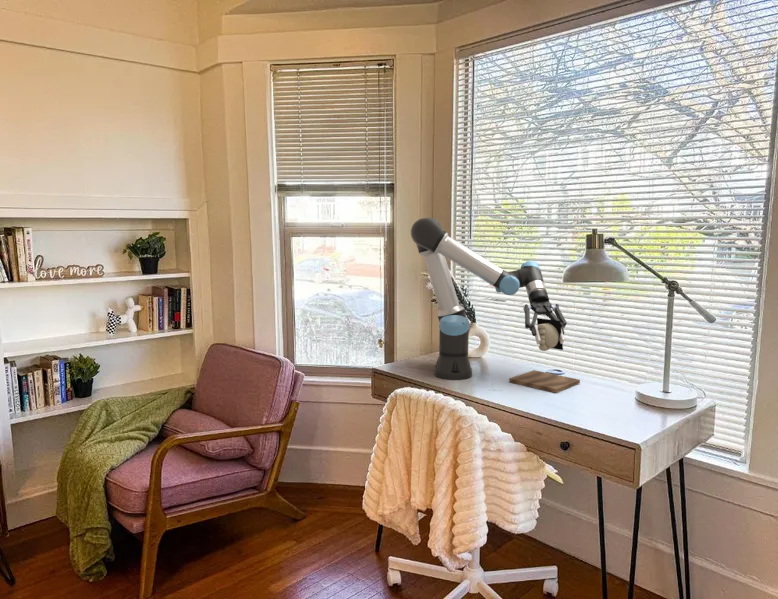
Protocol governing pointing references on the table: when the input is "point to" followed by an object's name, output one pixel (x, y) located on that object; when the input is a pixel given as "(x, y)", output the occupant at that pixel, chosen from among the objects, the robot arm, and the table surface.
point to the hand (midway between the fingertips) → (550, 342)
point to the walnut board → (544, 381)
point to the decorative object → (549, 334)
